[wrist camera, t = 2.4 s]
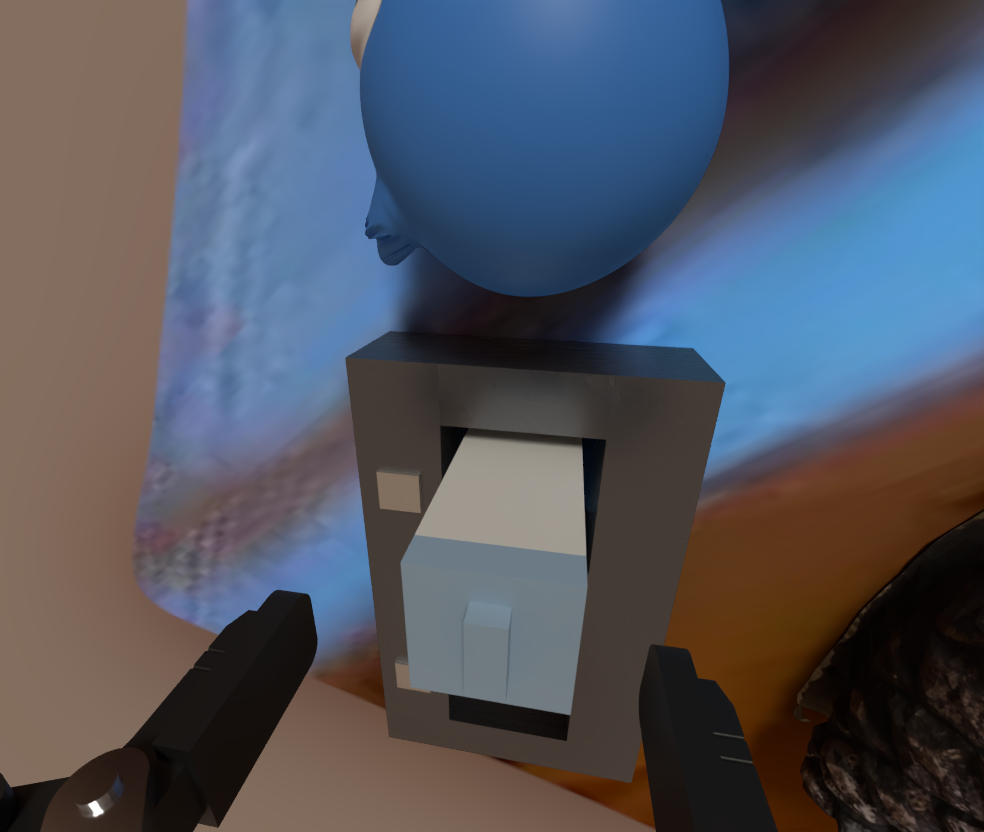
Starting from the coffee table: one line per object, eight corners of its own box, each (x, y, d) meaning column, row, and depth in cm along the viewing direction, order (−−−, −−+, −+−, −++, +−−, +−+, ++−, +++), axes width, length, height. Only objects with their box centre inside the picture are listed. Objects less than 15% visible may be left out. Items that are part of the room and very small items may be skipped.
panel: (693, 348, 17) (727, 384, 13) (622, 701, 25) (631, 787, 21) (389, 331, 19) (342, 359, 15) (414, 666, 27) (387, 740, 23)
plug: (581, 410, 19) (588, 609, 9) (571, 496, 20) (570, 740, 11) (481, 402, 19) (390, 581, 10) (480, 486, 21) (402, 709, 11)
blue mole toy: (570, -301, 11) (564, -1360, 4) (784, 129, 14) (1033, 20, 6) (278, 70, 16) (-2, -73, 8) (483, 345, 18) (419, 434, 11)
